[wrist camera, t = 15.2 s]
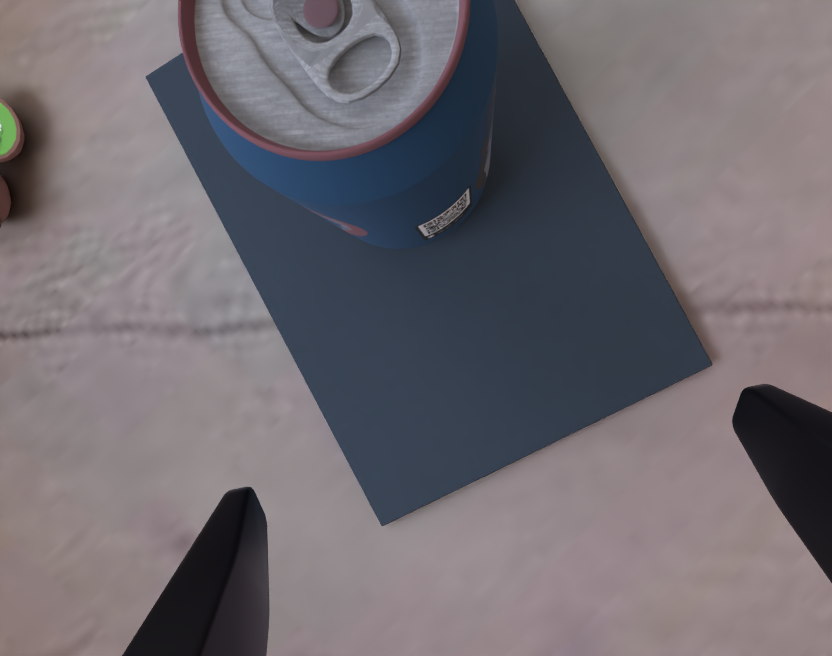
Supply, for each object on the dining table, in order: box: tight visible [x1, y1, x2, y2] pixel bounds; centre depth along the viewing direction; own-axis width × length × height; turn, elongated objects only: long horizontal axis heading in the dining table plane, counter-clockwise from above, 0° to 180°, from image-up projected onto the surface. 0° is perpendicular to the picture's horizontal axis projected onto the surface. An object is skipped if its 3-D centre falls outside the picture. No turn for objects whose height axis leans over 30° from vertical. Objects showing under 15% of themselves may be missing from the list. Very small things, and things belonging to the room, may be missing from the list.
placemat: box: [146, 0, 712, 526], centre depth 22 cm, size 22×15×1 cm
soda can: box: [178, 0, 499, 249], centre depth 16 cm, size 7×7×12 cm
